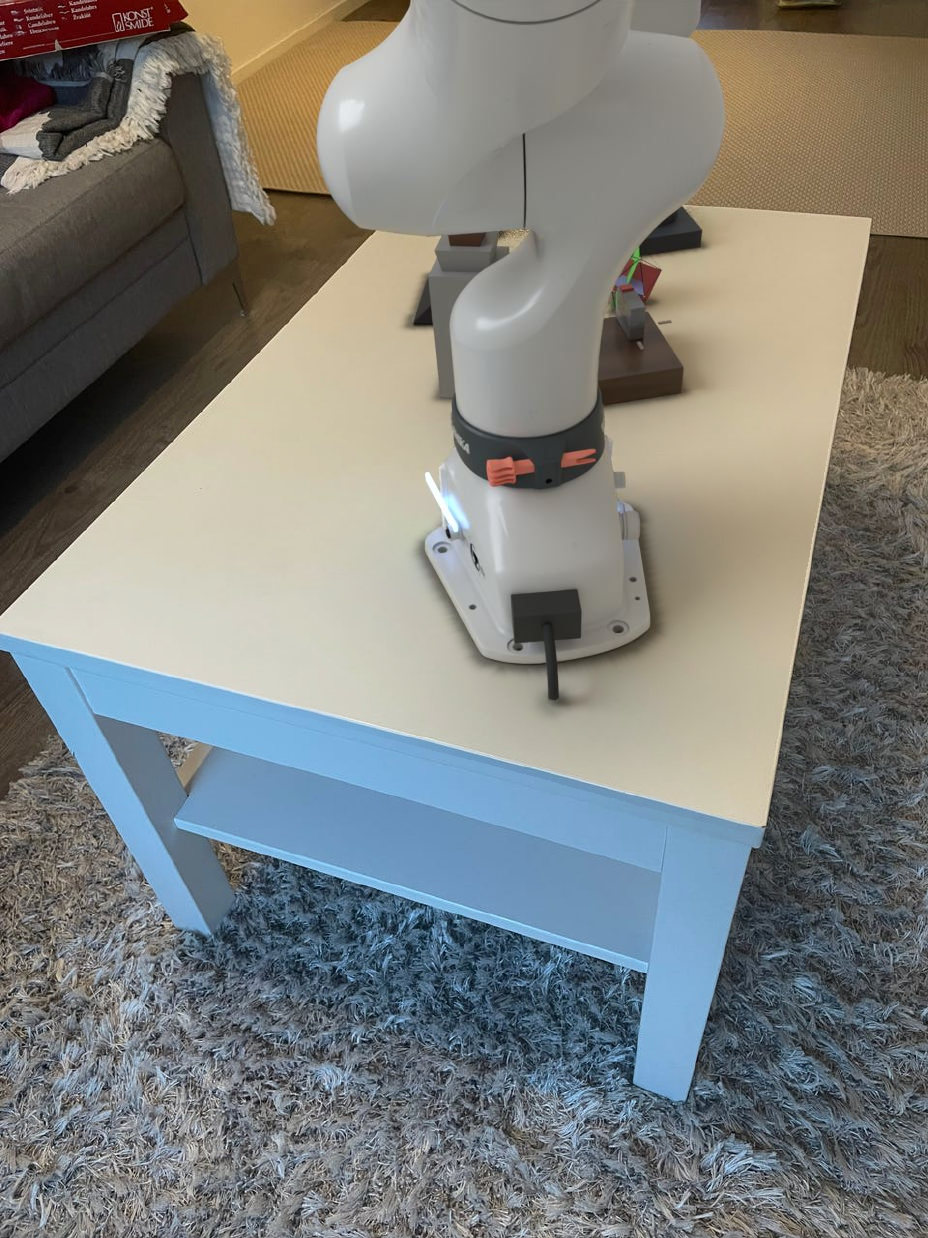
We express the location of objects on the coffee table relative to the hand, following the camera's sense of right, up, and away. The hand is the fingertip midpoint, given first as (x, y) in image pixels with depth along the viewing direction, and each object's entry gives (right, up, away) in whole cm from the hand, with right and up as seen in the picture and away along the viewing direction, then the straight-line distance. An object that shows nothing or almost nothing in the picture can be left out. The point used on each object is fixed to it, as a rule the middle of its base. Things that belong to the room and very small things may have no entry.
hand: (580, 104), depth 88 cm
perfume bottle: (-9, -22, +16) cm, 28 cm away
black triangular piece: (-12, -8, +29) cm, 33 cm away
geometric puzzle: (+8, -10, +26) cm, 29 cm away
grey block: (+7, -16, +15) cm, 23 cm away
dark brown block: (+6, -20, +16) cm, 26 cm away
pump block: (+13, +4, +38) cm, 40 cm away
